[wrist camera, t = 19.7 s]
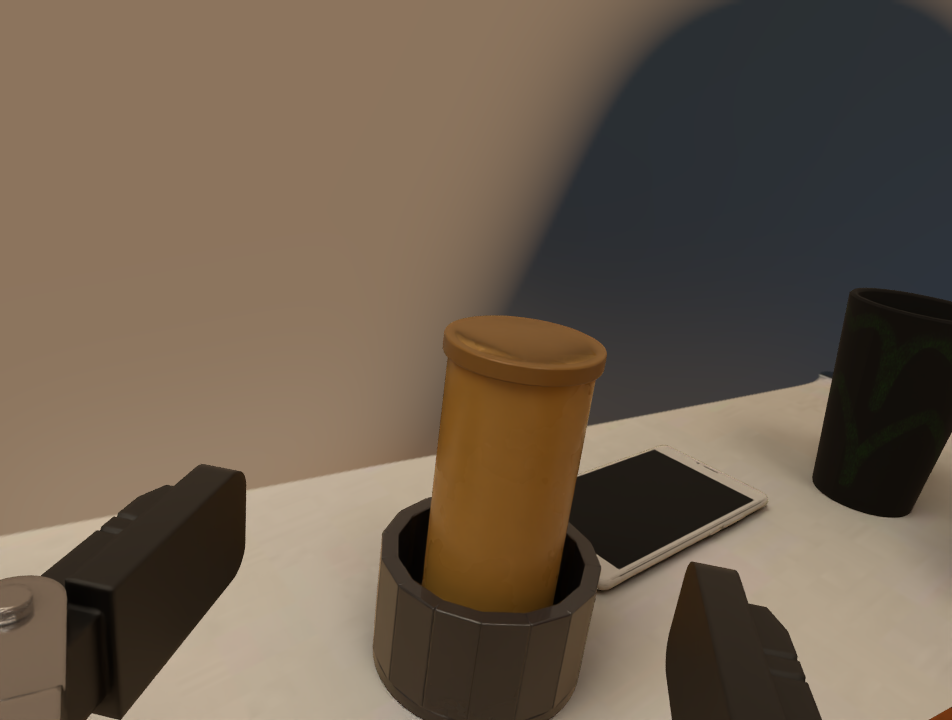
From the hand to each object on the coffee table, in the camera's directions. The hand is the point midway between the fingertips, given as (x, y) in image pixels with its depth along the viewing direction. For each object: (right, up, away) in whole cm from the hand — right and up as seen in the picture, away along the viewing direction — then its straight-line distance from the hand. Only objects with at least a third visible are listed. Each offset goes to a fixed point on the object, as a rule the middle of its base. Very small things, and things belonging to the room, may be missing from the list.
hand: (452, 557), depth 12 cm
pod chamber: (0, -7, +14) cm, 16 cm away
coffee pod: (+1, -7, +14) cm, 15 cm away
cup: (+24, -5, +31) cm, 39 cm away
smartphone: (+9, -5, +25) cm, 27 cm away
